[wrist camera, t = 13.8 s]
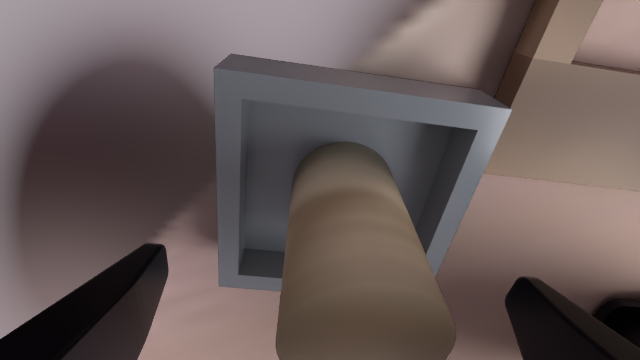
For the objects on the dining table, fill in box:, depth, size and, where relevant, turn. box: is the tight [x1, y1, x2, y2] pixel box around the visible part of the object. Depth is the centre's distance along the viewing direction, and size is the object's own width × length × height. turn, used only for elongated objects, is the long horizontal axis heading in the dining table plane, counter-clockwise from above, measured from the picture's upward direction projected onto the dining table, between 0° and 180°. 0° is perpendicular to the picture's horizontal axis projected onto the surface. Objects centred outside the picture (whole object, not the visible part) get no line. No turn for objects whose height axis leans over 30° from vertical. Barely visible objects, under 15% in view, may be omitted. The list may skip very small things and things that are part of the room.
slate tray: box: [214, 54, 512, 291], centre depth 11 cm, size 8×8×2 cm
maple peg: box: [276, 142, 456, 360], centre depth 9 cm, size 4×4×6 cm
